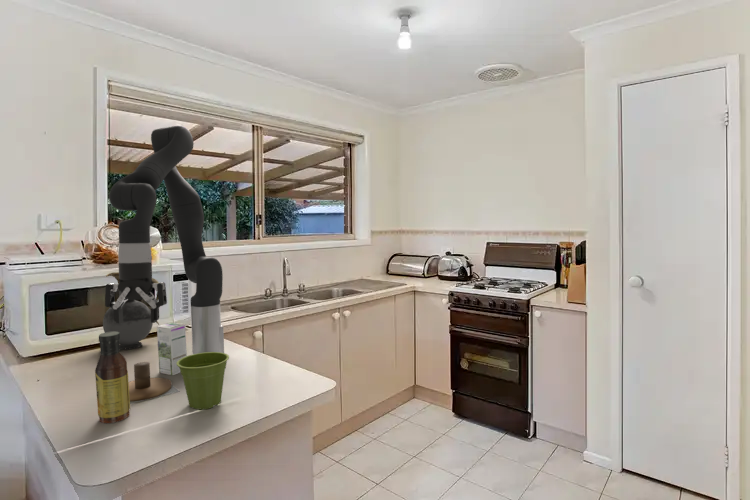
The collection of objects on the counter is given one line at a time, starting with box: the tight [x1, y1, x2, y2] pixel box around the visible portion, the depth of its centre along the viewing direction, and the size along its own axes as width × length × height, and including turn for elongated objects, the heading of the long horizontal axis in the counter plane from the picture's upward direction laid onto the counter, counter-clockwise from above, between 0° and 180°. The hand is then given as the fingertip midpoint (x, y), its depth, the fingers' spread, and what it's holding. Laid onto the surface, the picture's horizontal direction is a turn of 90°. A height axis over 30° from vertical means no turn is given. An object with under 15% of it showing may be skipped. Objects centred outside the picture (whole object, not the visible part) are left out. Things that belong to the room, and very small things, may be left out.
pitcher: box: [102, 271, 160, 351], centre depth 157 cm, size 11×19×30 cm, turn 132°
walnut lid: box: [128, 361, 172, 402], centre depth 114 cm, size 14×14×7 cm
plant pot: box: [176, 352, 230, 411], centre depth 105 cm, size 12×12×11 cm
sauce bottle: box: [94, 331, 131, 424], centre depth 98 cm, size 6×6×20 cm
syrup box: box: [156, 322, 188, 376], centre depth 129 cm, size 6×6×14 cm
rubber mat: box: [130, 383, 180, 405], centre depth 114 cm, size 14×14×1 cm
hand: (137, 322), depth 113 cm, fingers open, 8 cm apart
